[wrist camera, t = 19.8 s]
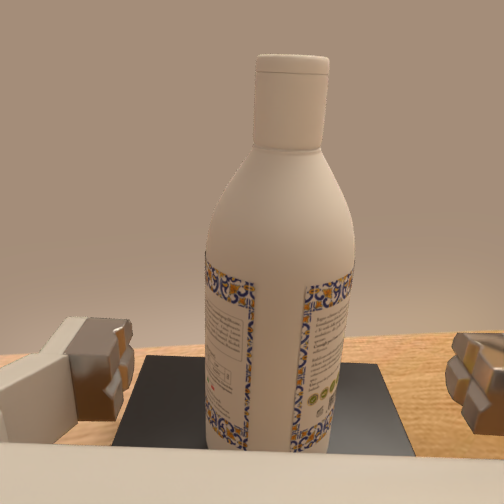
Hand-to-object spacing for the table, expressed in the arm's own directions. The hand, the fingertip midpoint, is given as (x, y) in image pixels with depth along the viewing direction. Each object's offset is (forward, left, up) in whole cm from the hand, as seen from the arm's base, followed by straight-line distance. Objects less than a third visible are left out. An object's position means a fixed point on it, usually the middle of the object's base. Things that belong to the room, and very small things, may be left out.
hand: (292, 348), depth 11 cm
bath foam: (0, +10, -13) cm, 16 cm away
